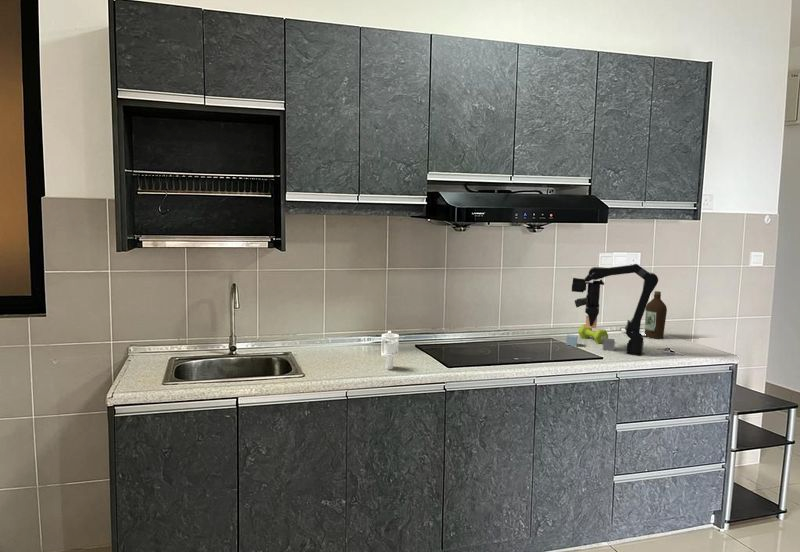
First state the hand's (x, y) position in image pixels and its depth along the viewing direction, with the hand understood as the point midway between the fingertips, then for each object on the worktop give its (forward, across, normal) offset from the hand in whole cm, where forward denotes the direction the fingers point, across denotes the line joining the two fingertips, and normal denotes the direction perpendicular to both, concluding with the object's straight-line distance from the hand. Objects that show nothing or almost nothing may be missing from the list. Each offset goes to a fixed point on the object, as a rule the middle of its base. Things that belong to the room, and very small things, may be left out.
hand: (591, 324), depth 290 cm
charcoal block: (+12, -3, +9) cm, 15 cm away
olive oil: (+12, -44, +32) cm, 56 cm away
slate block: (+12, -4, -9) cm, 15 cm away
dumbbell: (+12, -21, +1) cm, 24 cm away
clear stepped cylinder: (+12, +74, -78) cm, 108 cm away
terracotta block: (+1, 0, 0) cm, 1 cm away
